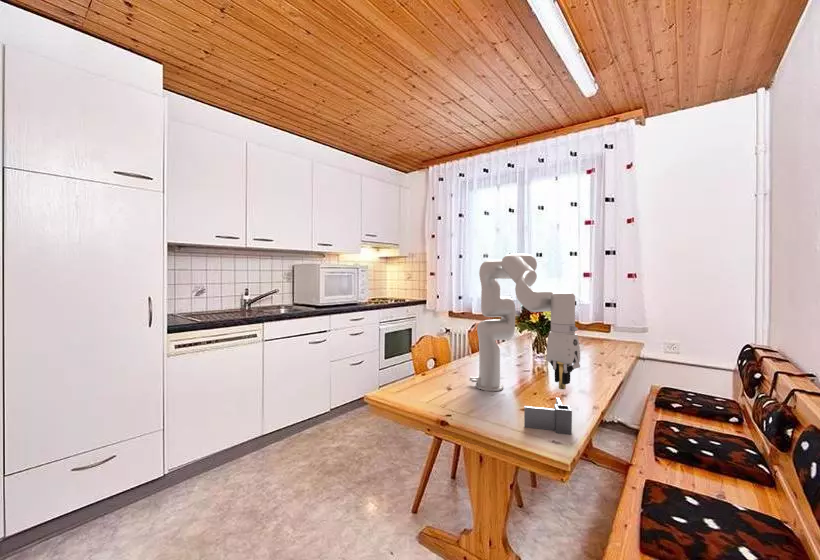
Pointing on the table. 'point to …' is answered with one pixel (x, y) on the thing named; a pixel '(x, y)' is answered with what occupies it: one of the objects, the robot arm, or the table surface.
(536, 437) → the table surface
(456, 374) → the table surface
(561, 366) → the hinge pin
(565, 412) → the hinge bracket
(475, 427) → the table surface
